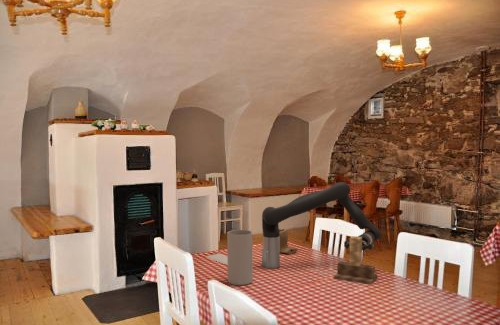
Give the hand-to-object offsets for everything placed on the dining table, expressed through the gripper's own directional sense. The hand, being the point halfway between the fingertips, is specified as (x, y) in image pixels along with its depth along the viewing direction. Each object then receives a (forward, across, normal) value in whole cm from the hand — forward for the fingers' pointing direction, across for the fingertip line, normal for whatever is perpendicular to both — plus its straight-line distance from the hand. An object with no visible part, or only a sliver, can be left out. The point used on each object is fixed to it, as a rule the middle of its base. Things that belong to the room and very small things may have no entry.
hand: (354, 247), depth 227 cm
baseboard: (+4, -75, +17) cm, 77 cm away
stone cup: (-31, -56, +16) cm, 66 cm away
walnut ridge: (-2, 0, +16) cm, 16 cm away
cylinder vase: (+31, -49, +16) cm, 60 cm away
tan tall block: (-2, 0, +9) cm, 9 cm away
